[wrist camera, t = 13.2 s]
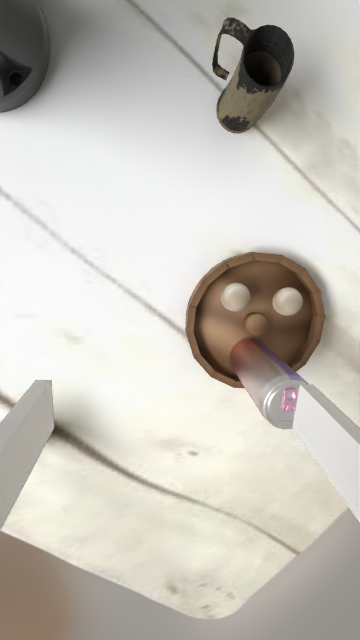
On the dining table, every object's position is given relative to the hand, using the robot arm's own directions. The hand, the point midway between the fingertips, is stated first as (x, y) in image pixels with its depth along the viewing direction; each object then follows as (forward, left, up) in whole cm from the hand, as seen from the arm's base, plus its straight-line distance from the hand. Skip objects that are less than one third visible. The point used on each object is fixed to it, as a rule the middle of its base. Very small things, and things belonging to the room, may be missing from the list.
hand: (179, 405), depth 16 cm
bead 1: (-2, +10, -28) cm, 30 cm away
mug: (-27, +6, -29) cm, 40 cm away
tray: (+1, +13, -29) cm, 32 cm away
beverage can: (+7, +13, -28) cm, 32 cm away
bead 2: (-2, +17, -28) cm, 33 cm away
